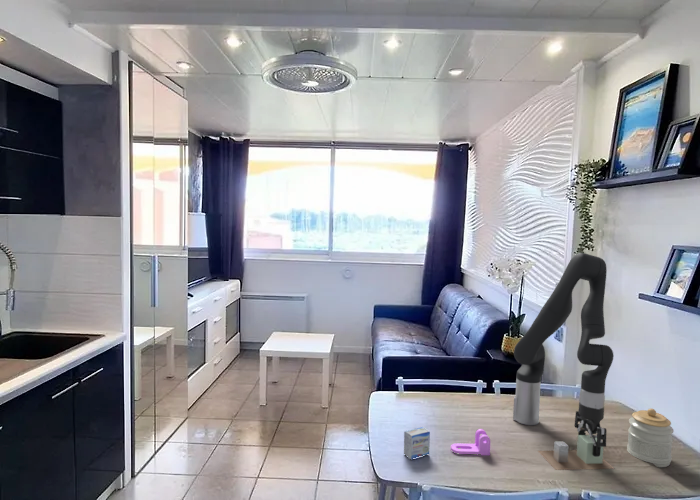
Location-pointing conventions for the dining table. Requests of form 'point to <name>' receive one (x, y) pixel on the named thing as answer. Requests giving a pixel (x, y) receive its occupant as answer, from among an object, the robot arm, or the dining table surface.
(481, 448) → the bracket
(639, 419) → the jar
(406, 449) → the medicine box
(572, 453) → the walnut board
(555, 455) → the steel post
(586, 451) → the sage cap
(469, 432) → the dining table surface
